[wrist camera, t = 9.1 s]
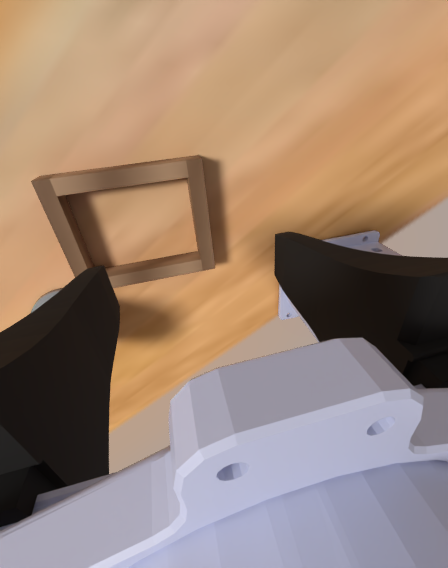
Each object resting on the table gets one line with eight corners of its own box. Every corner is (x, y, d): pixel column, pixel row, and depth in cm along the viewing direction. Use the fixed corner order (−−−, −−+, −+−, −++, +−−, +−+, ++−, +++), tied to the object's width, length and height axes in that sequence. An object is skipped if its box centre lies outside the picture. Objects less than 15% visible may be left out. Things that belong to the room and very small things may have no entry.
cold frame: (198, 155, 18) (202, 158, 17) (211, 259, 23) (215, 268, 22) (39, 176, 17) (30, 181, 16) (86, 283, 21) (82, 294, 20)
